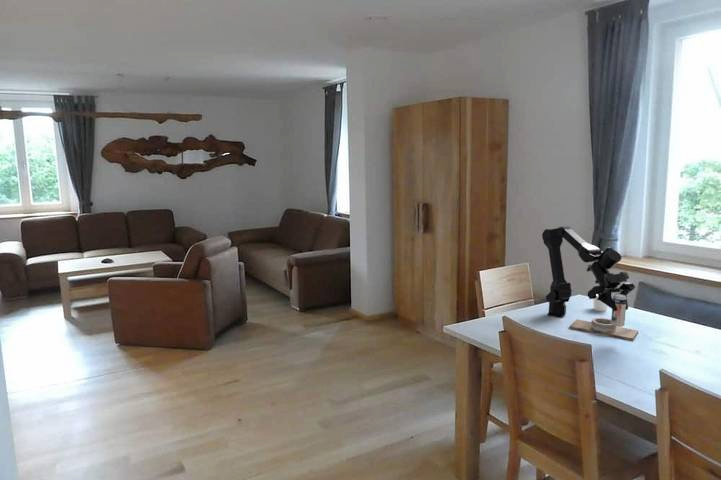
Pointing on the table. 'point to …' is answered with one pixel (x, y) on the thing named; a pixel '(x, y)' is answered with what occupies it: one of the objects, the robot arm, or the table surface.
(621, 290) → the robot arm
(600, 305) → the white cup
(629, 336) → the socket board
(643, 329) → the table surface
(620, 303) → the beer can
